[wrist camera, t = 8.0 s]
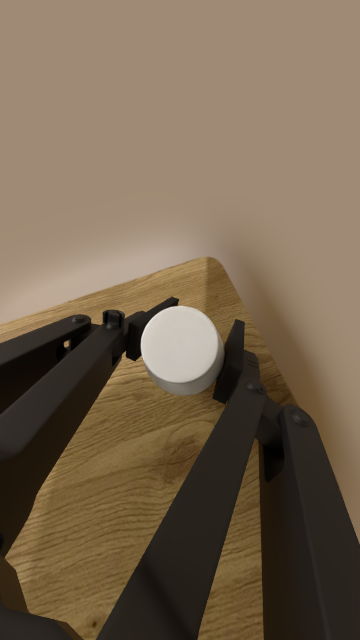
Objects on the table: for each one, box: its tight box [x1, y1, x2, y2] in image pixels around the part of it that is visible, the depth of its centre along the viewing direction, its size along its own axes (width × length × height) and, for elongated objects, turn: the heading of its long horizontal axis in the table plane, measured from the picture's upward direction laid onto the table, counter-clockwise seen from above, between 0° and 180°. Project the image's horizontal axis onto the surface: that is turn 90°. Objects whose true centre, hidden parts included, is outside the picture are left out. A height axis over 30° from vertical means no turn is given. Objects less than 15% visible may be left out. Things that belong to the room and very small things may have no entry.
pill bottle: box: [141, 306, 225, 396], centre depth 13 cm, size 5×5×10 cm
